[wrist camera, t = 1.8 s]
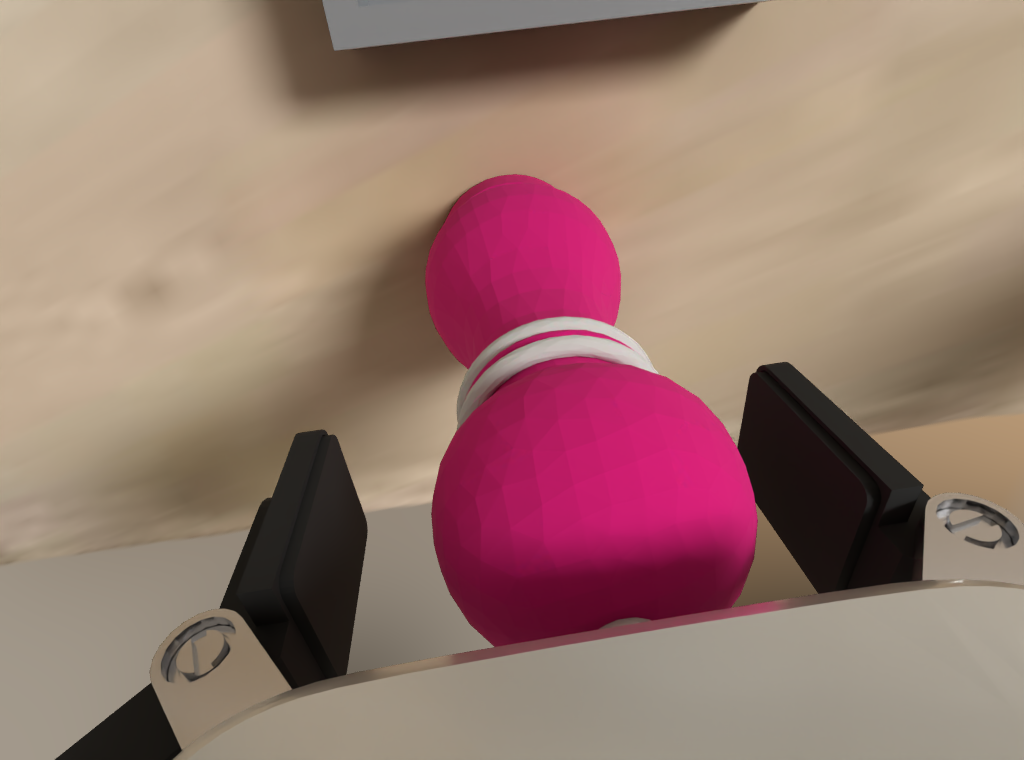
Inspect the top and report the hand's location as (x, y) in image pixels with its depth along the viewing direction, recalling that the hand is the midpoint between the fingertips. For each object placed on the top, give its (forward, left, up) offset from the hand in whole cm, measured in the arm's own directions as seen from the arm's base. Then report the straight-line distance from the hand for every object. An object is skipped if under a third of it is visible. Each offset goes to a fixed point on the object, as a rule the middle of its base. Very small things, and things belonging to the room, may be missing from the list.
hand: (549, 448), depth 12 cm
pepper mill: (0, 0, -14) cm, 14 cm away
